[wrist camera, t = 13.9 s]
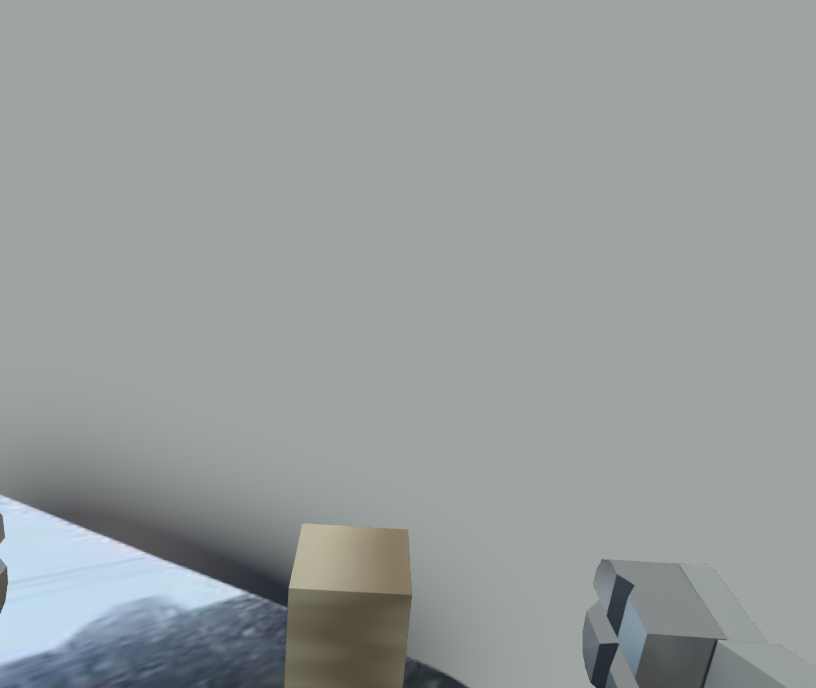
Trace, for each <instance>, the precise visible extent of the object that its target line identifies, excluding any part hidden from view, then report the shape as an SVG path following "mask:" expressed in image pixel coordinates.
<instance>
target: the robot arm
mask: <svg viewBox="0 0 816 688" xmlns="http://www.w3.org/2000/svg"><path fill="white" fill-rule="evenodd" d="M4 538H5V533H4V525H3V516H2V515H1V514H0V543H1V542H2V541H3V539H4ZM7 585H8V577H7V566H6V565H5V564H4V563H3V561H2V560H1V559H0V613H1V611H2V608H3V606H4V603H5V599H6V592H7ZM593 586H594V588H595V590H596V593H597V595H598V597H599V601H598V602H596V603H595V604H594V605H593V606H592V607H591V608H590V609H589V610H588V611H587V613H586V618H585V623H584V629H583V657H584V662H585V668H586V671H587V674H588V677H589V680H590V682H591V683H592V684H593V685H594V686H595V687H596V688H816V666H814V665H813V664H811V663H810V662H808V661H806V660H805V659H803V658H802V657H800V656H798V655H797V654H795V653H793V652H792V651H790V650H789V649H787V648H785V647H784V646H782V645H779V644H769V642H768V641H767V640H766V639H765V637H764V636H763V634H762V633H761V632H760V630H759V629H758V628H757V626H756V625H755V623H754V622H753V621H752V619H751V618H750V617H749V615H748V614H747V612H746V611H745V610H744V608H743V607H742V606H741V604H740V603H739V601H738V600H737V599H736V597H735V596H734V595H733V593H732V592H731V591H730V589H729V588H728V586H727V585H726V584H725V582H724V581H723V580H722V578H721V577H720V575H719V574H718V573H717V571H716V570H715V569H714V568H712V567H710V566H708V565H706V564H683V563H654V562H639V561H623V560H604V559H602V560H601V562H600V564H599V566H598V567H597V570H596V574H595V578H594V583H593Z"/></svg>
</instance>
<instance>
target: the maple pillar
mask: <svg viewBox="0 0 816 688" xmlns="http://www.w3.org/2000/svg"><path fill="white" fill-rule="evenodd" d="M411 599H412V588H411V572H410V554H409V538H408V530H403V529H386V528H370V527H353V526H336V525H319V524H302V529H301V534H300V538H299V543H298V548H297V552H296V557H295V562H294V567H293V571H292V576H291V581H290V586H289V597H288V619H287V641H286V663H285V685H284V688H403V678H404V668H405V658H406V648H407V638H408V628H409V619H410V608H411Z"/></svg>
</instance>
